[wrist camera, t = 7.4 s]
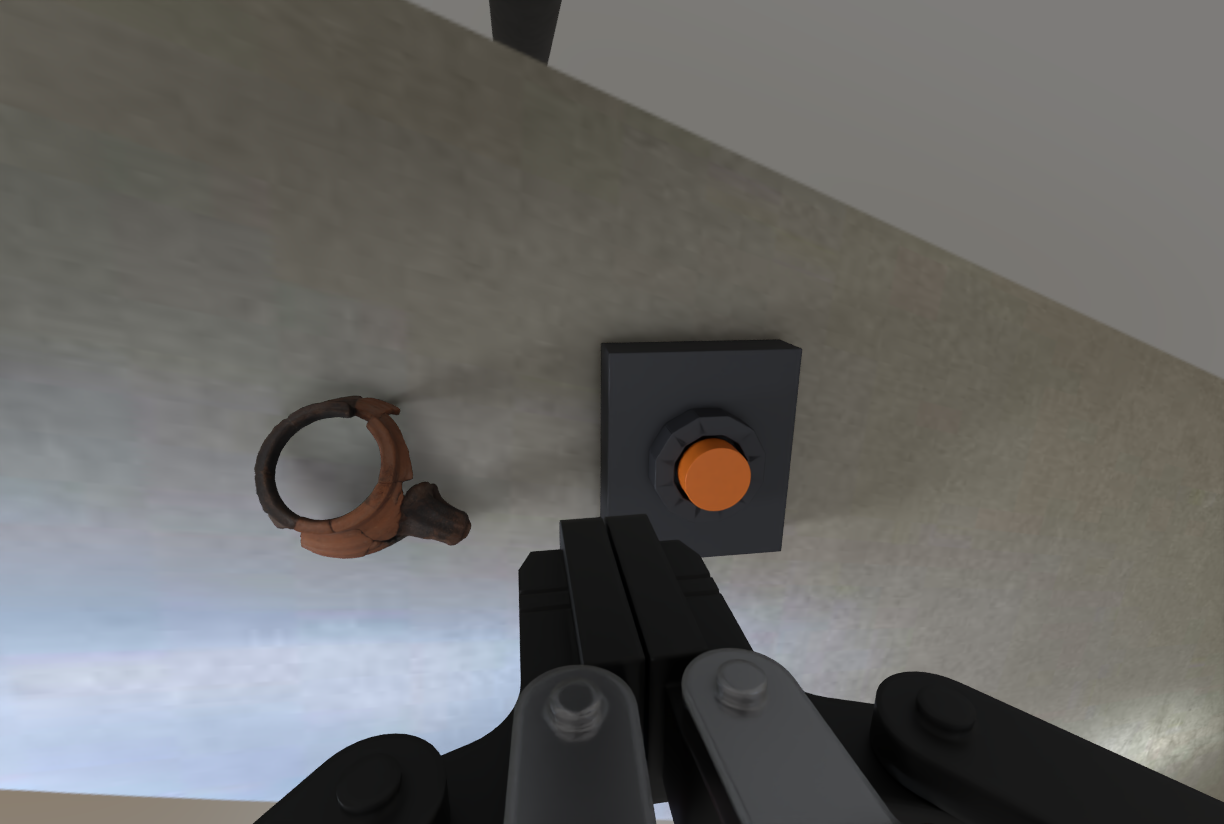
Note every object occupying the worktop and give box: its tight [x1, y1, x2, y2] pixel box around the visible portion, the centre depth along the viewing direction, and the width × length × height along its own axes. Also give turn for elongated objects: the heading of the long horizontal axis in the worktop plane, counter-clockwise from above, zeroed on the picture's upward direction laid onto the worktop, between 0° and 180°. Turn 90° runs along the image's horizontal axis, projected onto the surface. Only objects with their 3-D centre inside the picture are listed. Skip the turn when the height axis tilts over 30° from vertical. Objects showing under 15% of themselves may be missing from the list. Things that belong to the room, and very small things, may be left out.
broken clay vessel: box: [254, 396, 471, 559], centre depth 35 cm, size 12×9×8 cm
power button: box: [677, 438, 751, 511], centre depth 35 cm, size 4×4×2 cm
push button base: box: [600, 340, 802, 557], centre depth 38 cm, size 14×12×5 cm
